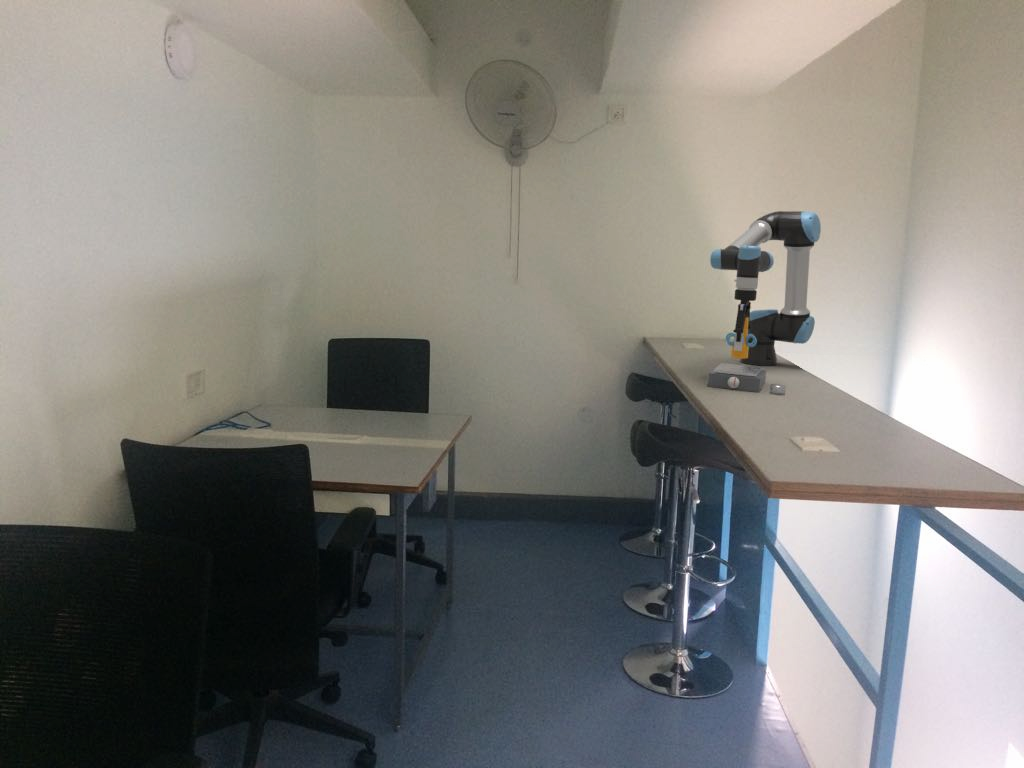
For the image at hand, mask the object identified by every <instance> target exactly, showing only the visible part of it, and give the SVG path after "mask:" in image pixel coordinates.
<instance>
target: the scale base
mask: <svg viewBox="0 0 1024 768" xmlns="http://www.w3.org/2000/svg"><path fill="white" fill-rule="evenodd" d="M719 365H720V364H719ZM719 365H716V366H715V367H713V369H712V370H711V371H710V372H708V378H707V387H708V388H718V389H726V390H736V391H743V390H744V391H745V392H751V391H753V392H754V393H761V390H762V389H763V387H764V386H765V384H766V380H767V379H766V377H767V370H764V369H762V370H761V372H760V373H759V374H758V376H757V377H755V376H745V375H736V374H727V373H717V372H714V369H715V368H716V367H717V366H719ZM753 392H752V393H753Z"/></svg>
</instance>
